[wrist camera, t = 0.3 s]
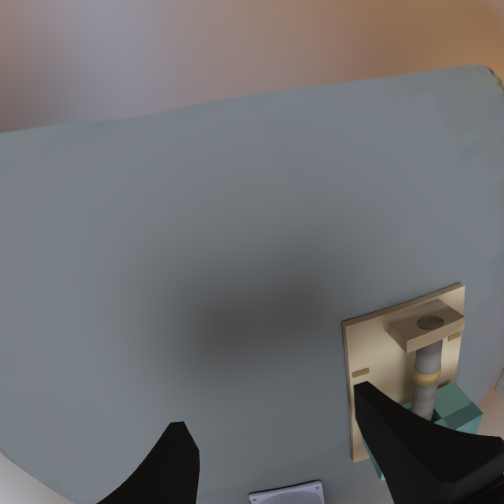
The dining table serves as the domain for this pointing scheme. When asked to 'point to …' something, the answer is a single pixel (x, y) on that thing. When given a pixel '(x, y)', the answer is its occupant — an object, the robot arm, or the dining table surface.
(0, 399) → the dining table surface
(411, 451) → the robot arm
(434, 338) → the pipe jig
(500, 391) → the skincare box
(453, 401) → the collar
